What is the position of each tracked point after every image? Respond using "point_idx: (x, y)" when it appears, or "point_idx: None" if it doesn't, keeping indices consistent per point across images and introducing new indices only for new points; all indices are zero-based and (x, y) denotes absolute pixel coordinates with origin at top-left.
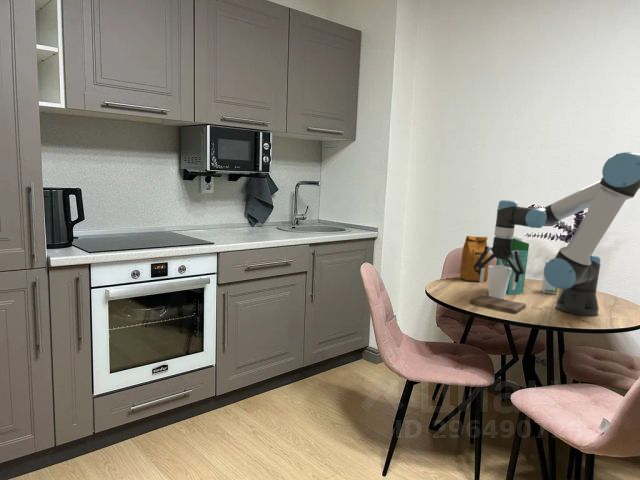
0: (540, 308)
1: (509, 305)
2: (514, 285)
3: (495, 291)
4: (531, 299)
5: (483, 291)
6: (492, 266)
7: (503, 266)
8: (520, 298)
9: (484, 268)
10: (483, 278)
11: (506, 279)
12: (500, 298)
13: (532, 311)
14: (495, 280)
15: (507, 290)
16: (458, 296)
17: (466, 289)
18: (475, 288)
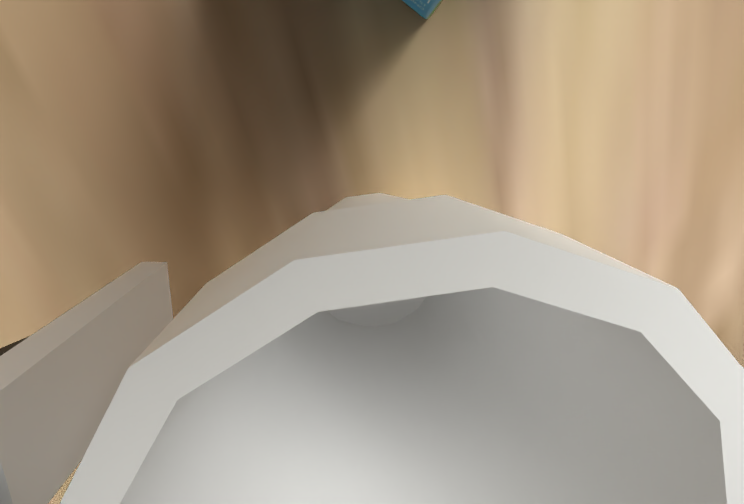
0: (720, 337)
1: None
2: None
3: (381, 368)
4: (669, 60)
5: (185, 113)
6: (154, 454)
7: (494, 286)
8: (568, 113)
9: (2, 443)
10: (139, 300)
11: (533, 437)
12: (418, 307)
13: None
14: (383, 483)
15: (431, 6)
16: None
17: (18, 178)
18: (45, 25)
